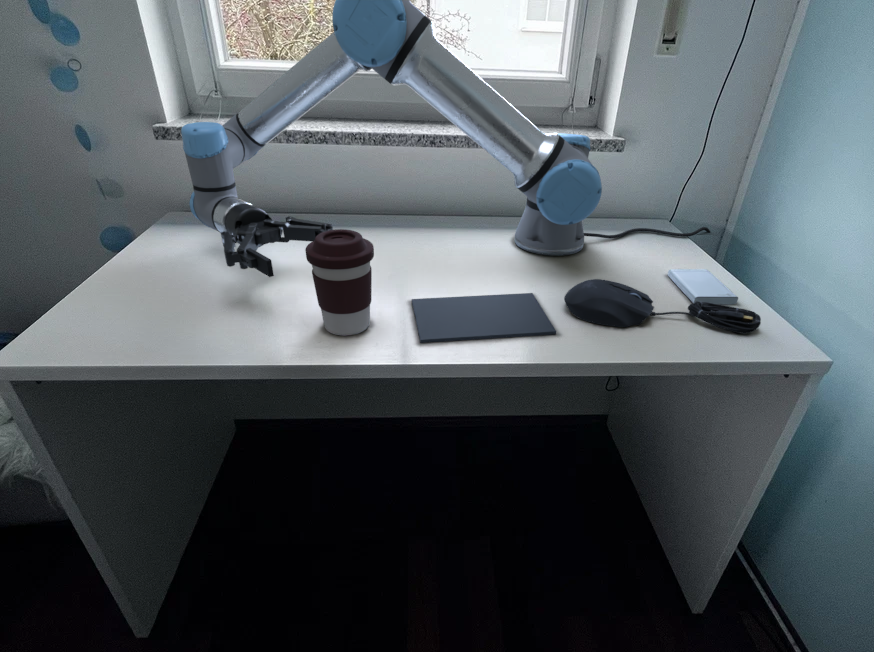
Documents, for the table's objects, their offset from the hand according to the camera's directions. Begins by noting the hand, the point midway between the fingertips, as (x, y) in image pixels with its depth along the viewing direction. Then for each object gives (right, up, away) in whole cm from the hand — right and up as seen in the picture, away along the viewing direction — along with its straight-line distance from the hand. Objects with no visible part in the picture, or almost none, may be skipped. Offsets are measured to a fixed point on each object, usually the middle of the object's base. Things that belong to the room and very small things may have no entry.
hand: (308, 257), depth 89 cm
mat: (+28, -10, +3) cm, 30 cm away
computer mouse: (+59, -10, +5) cm, 59 cm away
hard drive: (+71, -3, +15) cm, 72 cm away
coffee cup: (+7, -11, -1) cm, 13 cm away
